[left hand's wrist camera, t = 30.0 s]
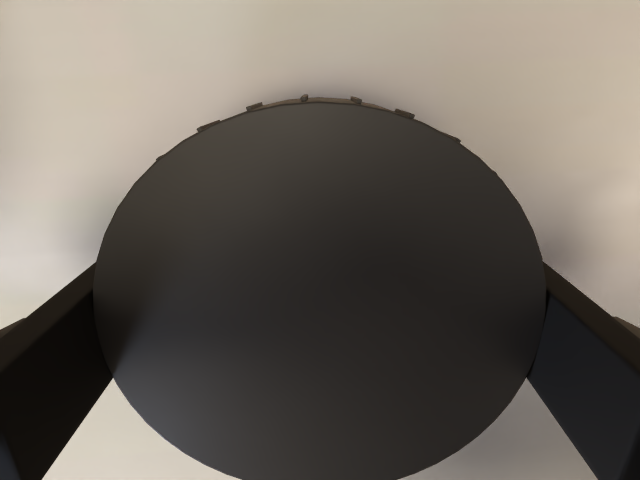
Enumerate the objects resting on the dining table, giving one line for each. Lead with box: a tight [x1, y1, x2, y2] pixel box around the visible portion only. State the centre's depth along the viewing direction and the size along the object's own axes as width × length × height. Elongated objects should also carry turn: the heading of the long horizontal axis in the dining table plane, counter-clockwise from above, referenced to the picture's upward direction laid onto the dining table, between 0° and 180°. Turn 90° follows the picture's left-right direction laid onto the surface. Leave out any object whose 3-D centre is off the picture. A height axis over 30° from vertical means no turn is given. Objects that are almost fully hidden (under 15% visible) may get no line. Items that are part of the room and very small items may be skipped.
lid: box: [93, 95, 546, 480], centre depth 11 cm, size 11×11×2 cm
